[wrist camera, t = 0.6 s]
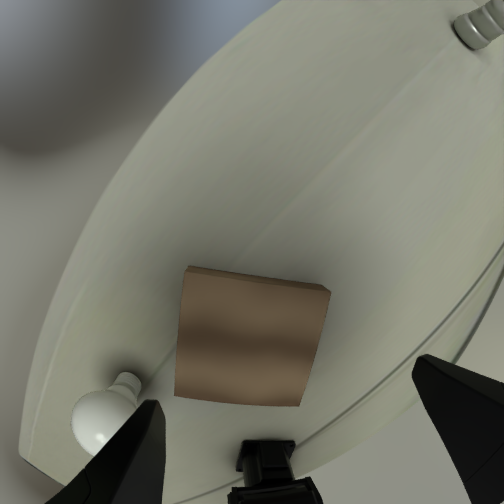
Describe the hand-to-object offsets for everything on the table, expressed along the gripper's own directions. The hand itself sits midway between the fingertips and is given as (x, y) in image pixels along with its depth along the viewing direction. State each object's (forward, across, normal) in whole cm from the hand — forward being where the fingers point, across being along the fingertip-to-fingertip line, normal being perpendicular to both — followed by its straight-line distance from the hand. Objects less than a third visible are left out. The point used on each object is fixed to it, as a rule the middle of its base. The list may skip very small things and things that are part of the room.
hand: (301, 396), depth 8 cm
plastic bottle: (+22, -38, -32) cm, 55 cm away
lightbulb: (+15, +13, +12) cm, 23 cm away
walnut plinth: (+15, +1, +8) cm, 17 cm away
